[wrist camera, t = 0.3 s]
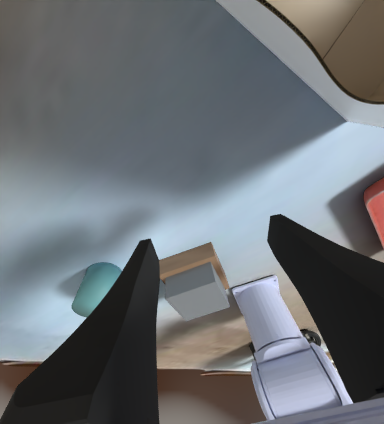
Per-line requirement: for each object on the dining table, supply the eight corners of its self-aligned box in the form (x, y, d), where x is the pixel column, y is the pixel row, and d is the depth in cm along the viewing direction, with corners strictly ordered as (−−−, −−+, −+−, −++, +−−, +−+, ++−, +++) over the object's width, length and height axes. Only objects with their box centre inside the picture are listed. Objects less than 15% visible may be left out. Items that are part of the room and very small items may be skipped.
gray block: (224, 287, 27) (230, 307, 25) (184, 300, 28) (186, 321, 25) (210, 261, 23) (215, 281, 21) (165, 277, 24) (165, 298, 22)
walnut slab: (224, 271, 30) (229, 288, 27) (179, 286, 31) (180, 303, 28) (210, 239, 25) (215, 255, 23) (158, 258, 26) (157, 275, 24)
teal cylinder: (128, 277, 27) (122, 311, 23) (100, 287, 28) (89, 321, 24) (109, 258, 25) (98, 291, 20) (79, 269, 25) (62, 304, 21)
